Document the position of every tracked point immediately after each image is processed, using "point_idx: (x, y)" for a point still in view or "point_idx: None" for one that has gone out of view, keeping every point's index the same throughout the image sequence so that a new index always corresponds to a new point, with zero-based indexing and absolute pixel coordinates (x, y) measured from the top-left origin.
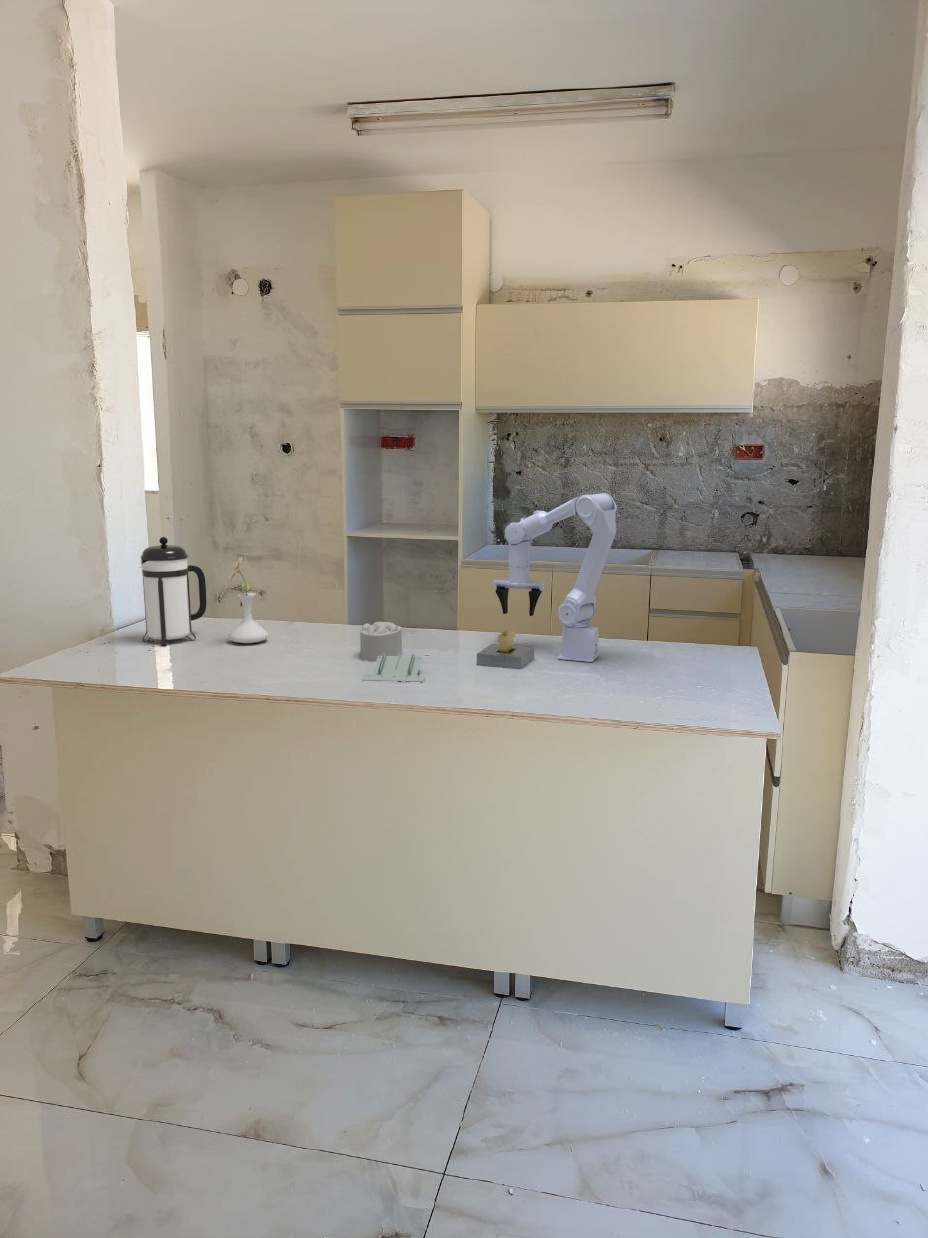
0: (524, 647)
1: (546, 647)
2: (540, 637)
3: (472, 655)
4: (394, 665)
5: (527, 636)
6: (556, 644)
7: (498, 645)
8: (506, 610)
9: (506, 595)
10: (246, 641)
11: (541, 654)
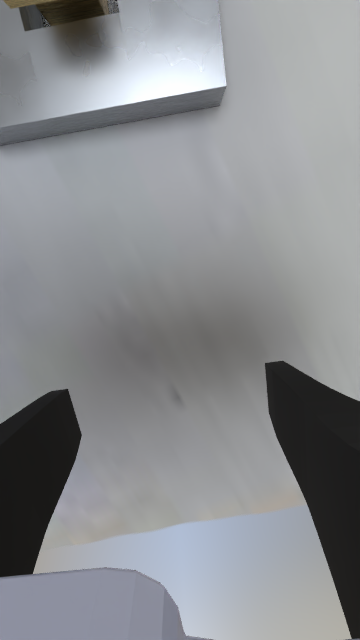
0: (8, 103)
1: (73, 373)
2: (176, 500)
3: (308, 29)
4: None
5: (227, 494)
6: None
7: (168, 64)
8: (273, 403)
9: (332, 530)
10: None
11: (19, 247)
